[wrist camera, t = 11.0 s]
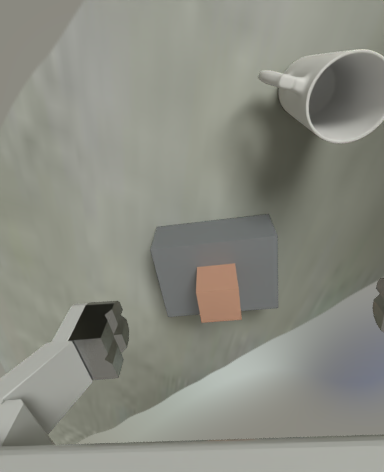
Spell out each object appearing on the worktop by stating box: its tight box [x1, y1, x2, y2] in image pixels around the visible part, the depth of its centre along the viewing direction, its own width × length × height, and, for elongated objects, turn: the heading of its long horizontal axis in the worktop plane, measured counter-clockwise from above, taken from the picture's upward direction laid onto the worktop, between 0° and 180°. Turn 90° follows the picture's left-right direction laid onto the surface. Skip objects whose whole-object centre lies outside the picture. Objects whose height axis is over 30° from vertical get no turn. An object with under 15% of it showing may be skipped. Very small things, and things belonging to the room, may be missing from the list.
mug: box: [258, 49, 384, 143], centre depth 29 cm, size 10×7×12 cm, turn 76°
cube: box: [196, 263, 242, 323], centre depth 38 cm, size 5×5×5 cm
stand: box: [150, 214, 278, 317], centre depth 43 cm, size 16×12×6 cm
